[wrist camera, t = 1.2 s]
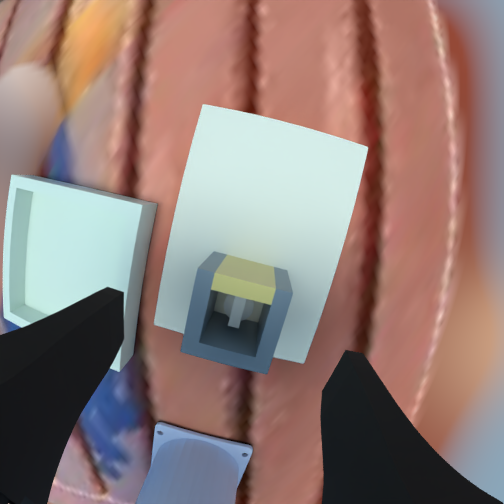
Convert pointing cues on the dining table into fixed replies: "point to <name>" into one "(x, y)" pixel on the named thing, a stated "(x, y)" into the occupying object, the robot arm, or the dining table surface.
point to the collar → (216, 324)
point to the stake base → (262, 216)
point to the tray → (73, 250)
